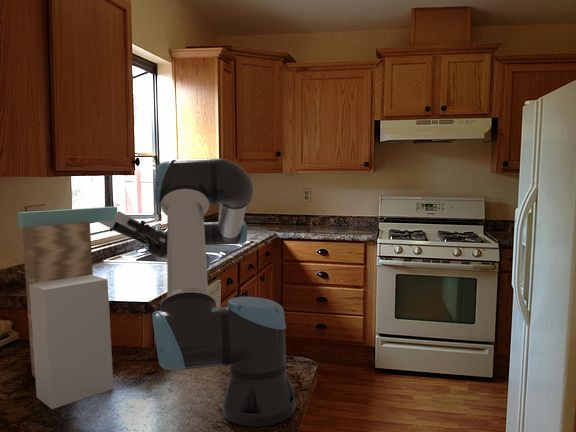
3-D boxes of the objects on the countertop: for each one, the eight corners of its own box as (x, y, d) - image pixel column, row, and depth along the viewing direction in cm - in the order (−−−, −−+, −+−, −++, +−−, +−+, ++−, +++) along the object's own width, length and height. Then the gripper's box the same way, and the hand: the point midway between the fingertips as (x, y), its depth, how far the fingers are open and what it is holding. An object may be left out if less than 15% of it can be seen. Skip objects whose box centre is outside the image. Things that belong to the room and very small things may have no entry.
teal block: (111, 219, 141) (111, 206, 141) (117, 219, 138) (117, 207, 138) (18, 226, 124) (17, 212, 124) (23, 227, 122) (22, 212, 121)
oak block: (86, 360, 139) (78, 221, 136) (97, 366, 134) (89, 222, 131) (32, 375, 129) (22, 226, 126) (42, 382, 124) (32, 227, 121)
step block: (96, 378, 126) (90, 274, 124) (113, 388, 119) (107, 279, 117) (36, 397, 116) (29, 284, 114) (51, 409, 109) (44, 289, 107)
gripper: (184, 262, 142) (120, 230, 128) (140, 254, 160) (79, 225, 146) (195, 237, 144) (133, 203, 130) (149, 232, 162) (91, 202, 148)
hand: (104, 215), depth 138 cm, fingers open, 13 cm apart
